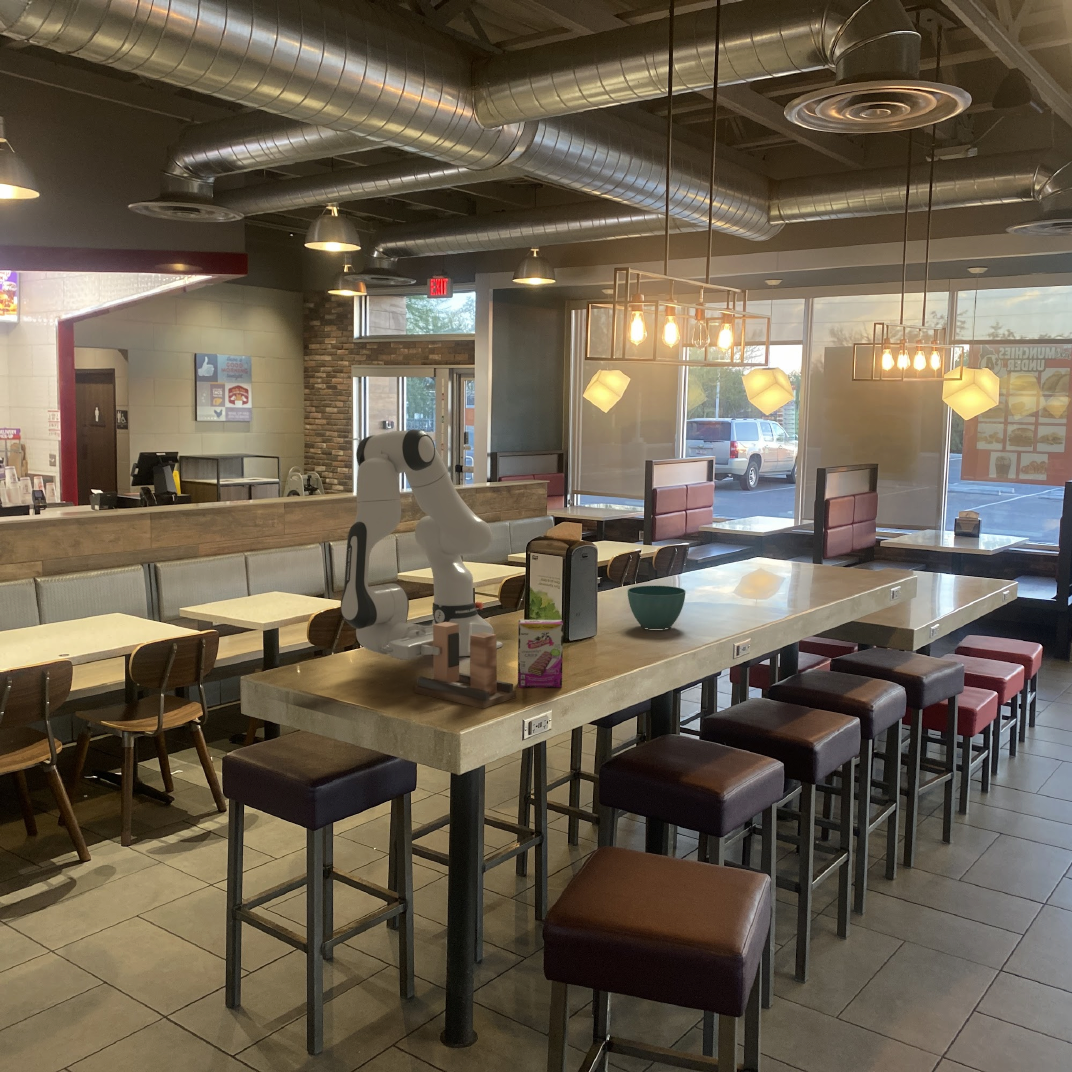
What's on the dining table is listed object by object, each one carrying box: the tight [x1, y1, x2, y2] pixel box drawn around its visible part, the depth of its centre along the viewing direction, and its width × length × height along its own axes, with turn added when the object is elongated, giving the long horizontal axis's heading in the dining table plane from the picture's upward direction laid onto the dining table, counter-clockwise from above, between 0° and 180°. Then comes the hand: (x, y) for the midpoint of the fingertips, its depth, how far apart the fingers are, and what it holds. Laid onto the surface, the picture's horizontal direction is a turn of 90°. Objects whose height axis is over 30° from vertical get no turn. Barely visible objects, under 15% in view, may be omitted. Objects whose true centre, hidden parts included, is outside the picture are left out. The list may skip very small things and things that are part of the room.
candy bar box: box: [517, 619, 564, 688], centre depth 252 cm, size 11×5×16 cm, turn 92°
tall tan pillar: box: [432, 622, 460, 683], centre depth 247 cm, size 4×5×14 cm
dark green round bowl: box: [627, 585, 686, 629], centre depth 322 cm, size 18×18×12 cm
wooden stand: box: [414, 632, 517, 709], centre depth 244 cm, size 12×22×16 cm, turn 52°
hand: (448, 649), depth 247 cm, fingers closed on tall tan pillar, 4 cm apart
